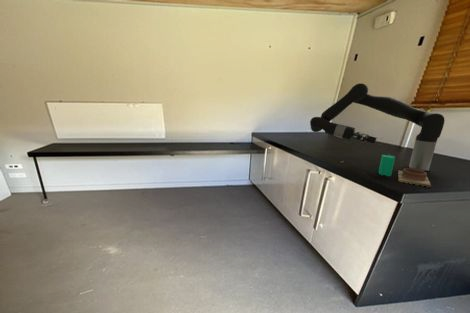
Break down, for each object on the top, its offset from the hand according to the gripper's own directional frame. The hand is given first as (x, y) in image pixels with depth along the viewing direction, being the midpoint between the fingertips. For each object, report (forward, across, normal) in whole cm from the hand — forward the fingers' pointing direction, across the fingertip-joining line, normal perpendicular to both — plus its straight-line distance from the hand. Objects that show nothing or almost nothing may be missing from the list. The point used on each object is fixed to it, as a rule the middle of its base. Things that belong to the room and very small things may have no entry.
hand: (375, 140), depth 111 cm
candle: (+10, +3, +17) cm, 20 cm away
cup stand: (+22, +3, +14) cm, 27 cm away
